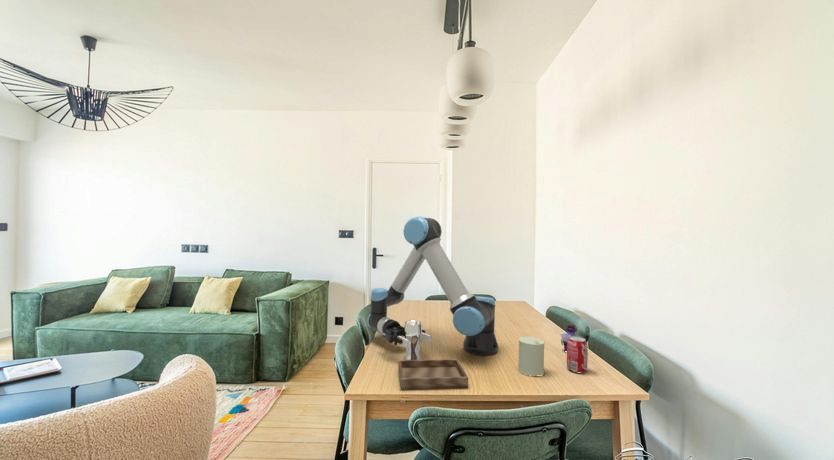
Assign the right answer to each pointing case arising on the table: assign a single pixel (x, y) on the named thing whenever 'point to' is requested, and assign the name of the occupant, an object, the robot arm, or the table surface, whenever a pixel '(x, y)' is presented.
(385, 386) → the table surface
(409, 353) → the beer glass
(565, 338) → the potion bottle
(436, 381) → the walnut tray
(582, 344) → the soda can
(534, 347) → the can
